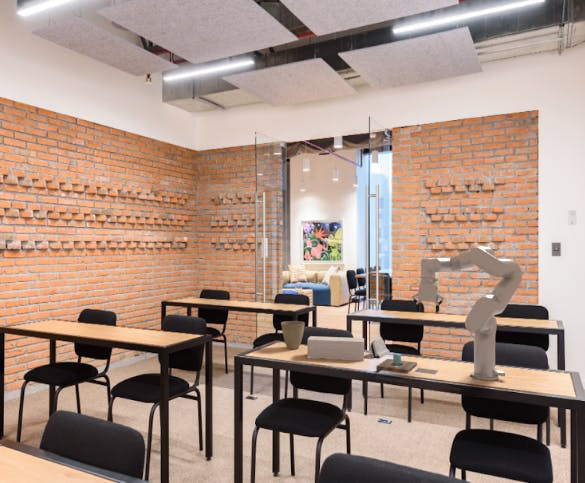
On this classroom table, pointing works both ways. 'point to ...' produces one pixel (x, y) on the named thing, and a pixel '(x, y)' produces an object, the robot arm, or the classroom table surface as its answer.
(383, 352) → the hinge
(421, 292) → the robot arm
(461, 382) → the classroom table surface
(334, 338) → the long grey foam brick
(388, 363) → the hole board
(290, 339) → the plant pot
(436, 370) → the plate
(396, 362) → the peg
